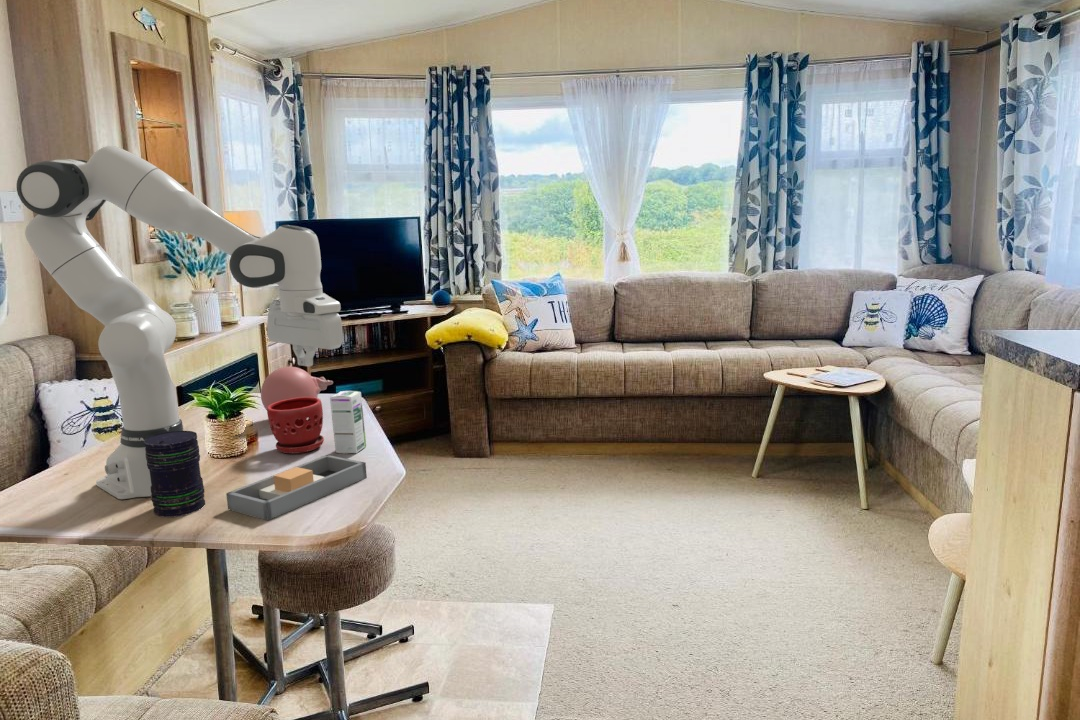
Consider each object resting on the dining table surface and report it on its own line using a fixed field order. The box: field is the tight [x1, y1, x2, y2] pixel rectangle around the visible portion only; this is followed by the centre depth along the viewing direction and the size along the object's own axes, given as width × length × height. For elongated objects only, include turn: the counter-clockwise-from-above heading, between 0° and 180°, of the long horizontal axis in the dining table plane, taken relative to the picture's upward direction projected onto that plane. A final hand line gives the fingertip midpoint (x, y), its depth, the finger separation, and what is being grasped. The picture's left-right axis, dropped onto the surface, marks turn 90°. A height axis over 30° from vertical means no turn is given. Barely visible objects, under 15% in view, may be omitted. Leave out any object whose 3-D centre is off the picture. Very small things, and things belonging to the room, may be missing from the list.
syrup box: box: [329, 390, 367, 454], centre depth 194 cm, size 6×6×14 cm
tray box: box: [225, 454, 368, 521], centre depth 167 cm, size 12×27×4 cm, turn 148°
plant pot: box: [266, 397, 325, 455], centre depth 197 cm, size 13×13×12 cm
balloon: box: [260, 366, 334, 420], centre depth 224 cm, size 15×20×15 cm
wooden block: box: [273, 466, 314, 492], centre depth 165 cm, size 5×6×3 cm
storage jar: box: [144, 430, 206, 518], centre depth 159 cm, size 10×10×15 cm
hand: (305, 365), depth 171 cm, fingers closed
